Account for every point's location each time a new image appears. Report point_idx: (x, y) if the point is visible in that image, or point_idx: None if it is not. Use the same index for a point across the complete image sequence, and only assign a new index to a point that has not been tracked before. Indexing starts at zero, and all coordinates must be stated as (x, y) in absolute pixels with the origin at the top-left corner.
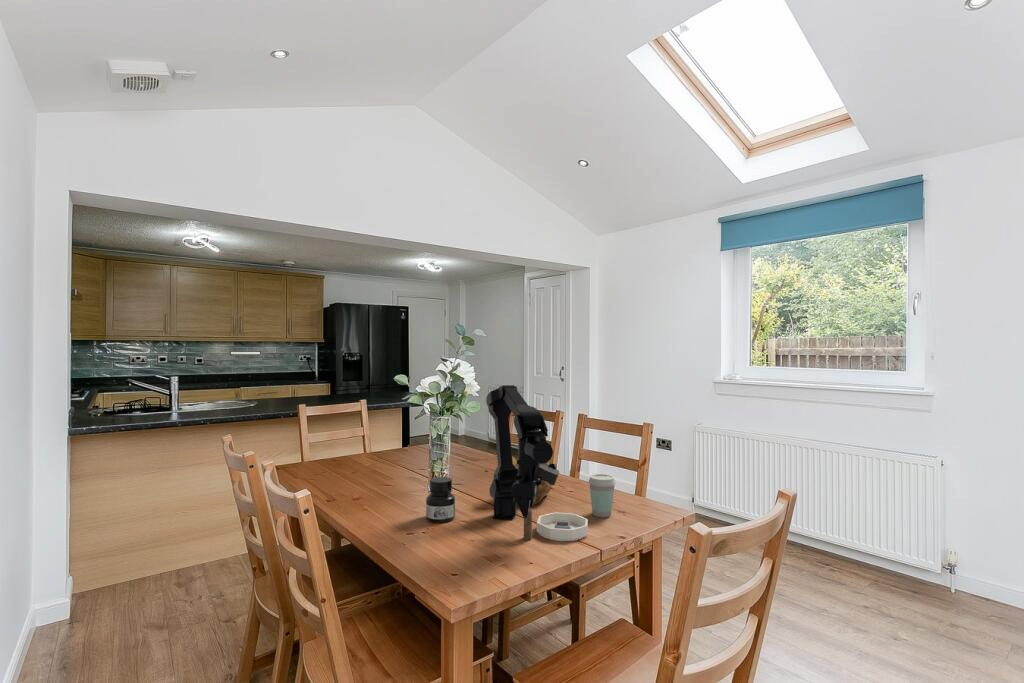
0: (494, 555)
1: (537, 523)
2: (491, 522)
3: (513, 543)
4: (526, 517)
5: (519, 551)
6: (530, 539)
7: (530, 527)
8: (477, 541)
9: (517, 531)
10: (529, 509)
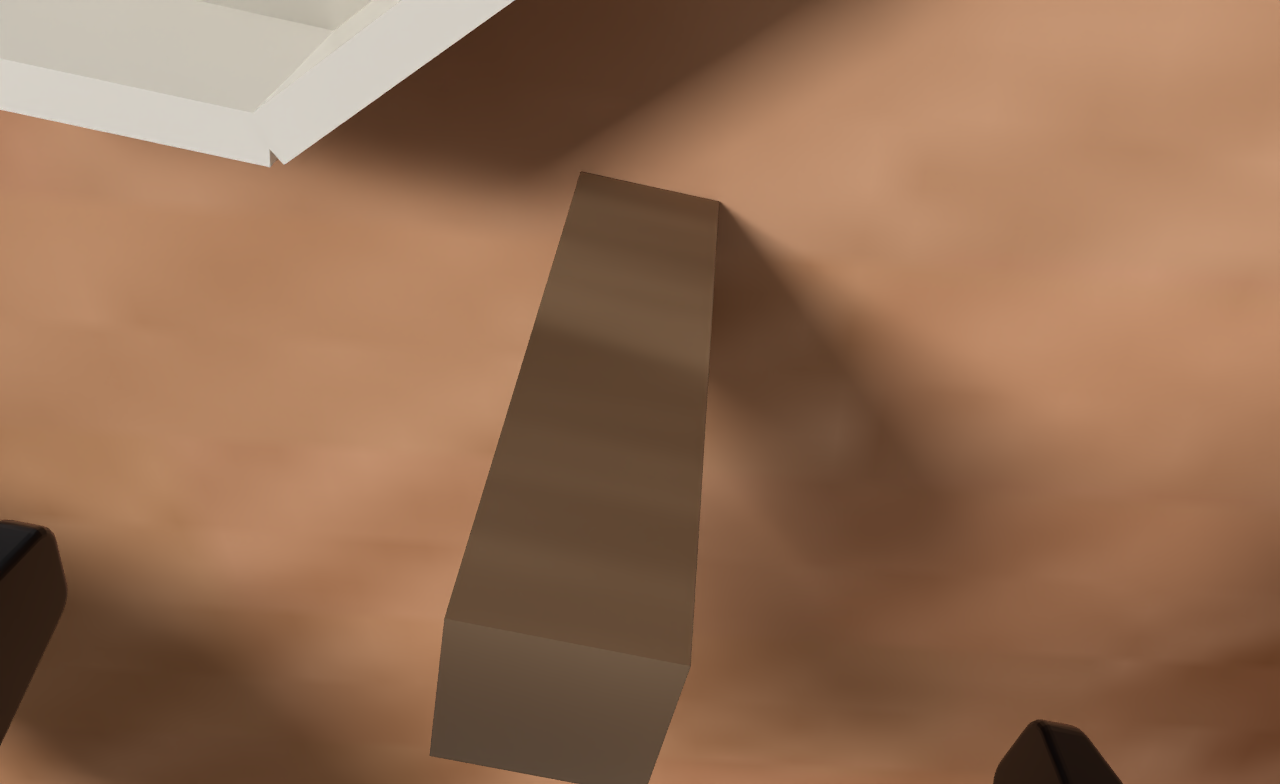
0: (1235, 678)
1: (306, 144)
2: (53, 638)
3: (845, 463)
4: (1076, 735)
5: (1206, 412)
6: (714, 213)
7: (708, 351)
8: (736, 778)
9: (312, 375)
10: (525, 682)
